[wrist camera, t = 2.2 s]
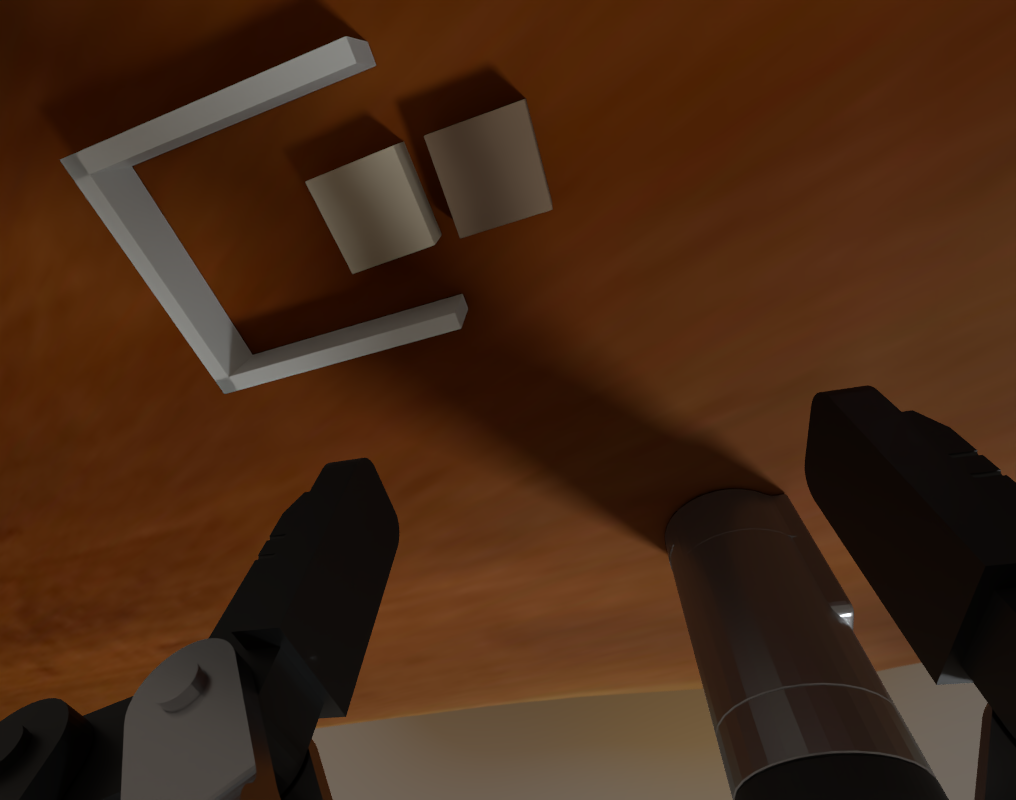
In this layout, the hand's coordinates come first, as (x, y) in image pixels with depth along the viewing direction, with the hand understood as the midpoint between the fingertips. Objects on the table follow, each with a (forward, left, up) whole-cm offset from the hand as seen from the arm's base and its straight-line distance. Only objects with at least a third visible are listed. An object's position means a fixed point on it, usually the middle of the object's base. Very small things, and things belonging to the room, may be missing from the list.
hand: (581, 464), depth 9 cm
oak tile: (+9, -3, -22) cm, 24 cm away
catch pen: (+15, -3, -21) cm, 26 cm away
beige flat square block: (+3, -3, -22) cm, 22 cm away
